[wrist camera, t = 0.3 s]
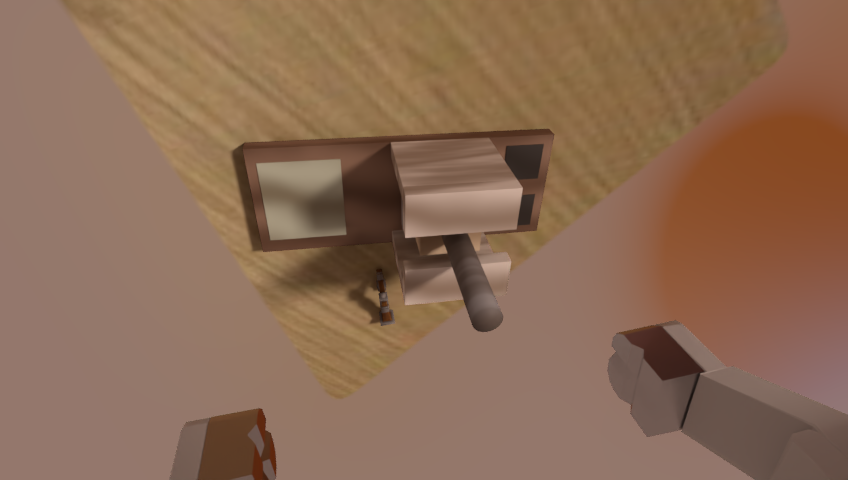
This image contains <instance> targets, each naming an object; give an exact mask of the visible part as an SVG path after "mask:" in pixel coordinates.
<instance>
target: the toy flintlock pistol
mask: <svg viewBox="0 0 848 480" xmlns="http://www.w3.org/2000/svg"><path fill="white" fill-rule="evenodd" d="M376 271H377V288H378V290H379V291H380V293H379V299H380V307H381V312H379V316H380V322H381V326H383V325H389V324H394V323H395V320H394V314H393V310H389V304H388V297H387V292H385V290H386V283H385V279H383V274H382V269H379V270H376Z"/></svg>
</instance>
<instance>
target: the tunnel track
mask: <svg viewBox="0 0 848 480" xmlns="http://www.w3.org/2000/svg"><path fill="white" fill-rule="evenodd" d="M553 139H554V134H553V133H552V132H551V131H550V129H535V130H513V131H491V132H469V133H448V134H426V135H404V136H382V137H360V138H339V139H317V140H295V141H273V142H251V143H244V146H243V149H242V150H243V155H244V159H245V164H246V169H247V174H248V179H249V184H250V189H251V194H252V199H253V204H254V209H255V214H256V219H257V224H258V229H259V234H260V239H261V244H262V249H263V252H269V251H282V250H295V249H308V248H320V247H333V246H346V245H359V244H372V243H384V242H392V243H393V248H394V253H395V258H396V263H397V268H398V273H399V278H400V283H401V287H402V292H403V297H404V302H405V305H412V304H422V303H432V302H442V301H453V300H463V297H462V294H461V291H460V288H459V285H458V282H457V279H456V277H455V274H454V271H453V268H452V265H451V262H450V259H449V256H448V254H435V255H423V256H420V253H419V249H418V245H417V242H416V238H415V237H424V236H437V235H450V234H463V233H476V232H482V233H481V242H480V251H476V254H477V256H478V258H479V261H480V263H481V265H482V268H483V270H484V272H485V275H486V277H487V279H488V282H489V284H490V286H491V289H492V291H493V293H494V296H504V295H506V292H507V286H508V280H509V273H510V267H511V260H510V258H509V256H508V254H507V252H499V253H493V251H492V249H491V247H490V245H489V243H488V241H487V238H486V236H485V235H487V234H500V233H512V232H525V231H536V230H537V225H538V219H539V214H540V209H541V203H542V198H543V193H544V187H545V182H546V176H547V171H548V166H549V160H550V155H551V150H552V144H553ZM401 197H402V200H403V229H402V216H401Z"/></svg>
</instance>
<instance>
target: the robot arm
mask: <svg viewBox="0 0 848 480" xmlns="http://www.w3.org/2000/svg"><path fill="white" fill-rule="evenodd" d="M612 347H613V348H614V350H615V351H616V352H615V353H614V354H613V355H612V357H611V358H610V359H609V363H608V375H609V380H610V383H611V385H612V387H613V389H614V391H615V392H616V394H617V395H618V397H619V398H620V399H622V400H624V401H625V402H627V403H629V404H631V413H630V414H631V415H632V417H633V418H634V419H635V420H636V422H637V424H638V425H639V426H640V428H641V429H642V430H643V432H644V433H645V435H646V436H647V437H650V436H655V435H659V434H664V433H669V432H673V431H678V430H682V432H683V433H684V434H686V435H687V436H689V437H691V438H692V439H693V440H695V441H697V442H698V443H700V444H701V445H703V446H704V447H706V448H707V449H709V450H710V451H712V452H714V453H715V454H716V455H718V456H720V457H721V458H723V459H724V460H726V461H727V462H729V463H730V464H732V465H733V466H735V467H737V468H738V469H739V470H741V471H743V472H744V473H746V474H747V475H749V476H750V477H752V478H753V479H755V480H848V415H847V414H845V413H842V412H840V411H838V410H835V409H833V408H830V407H828V406H826V405H823V404H821V403H818V402H816V401H814V400H811V399H809V398H807V397H804V396H802V395H800V394H797V393H795V392H792V391H790V390H788V389H785V388H783V387H781V386H778V385H776V384H774V383H771V382H769V381H767V380H764V379H762V378H759V377H757V376H755V375H752V374H750V373H748V372H745V371H743V370H740V369H738V368H736V367H733V366H731V367H726V366H725V365H724V364H723V363H722V362H721V361H720V360H718V358H717V357H716V356H714V354H713V353H711V352H710V351H709V349H707V348H706V347H705V346H704V345H703V344H702V343H701V342H700V341H699V340H698V339H697V338H696V337H695V336H694V335H693V334H692V333H691V332H690V331H689V330H688V329H687V328H686V327H685V326H684V325H683V324H682V323H680V322H678V321H670V322H666V323H661V324H656V325H651V326H647V327H642V328H637V329H633V330H628V331H624V332H619V333H616V335H615V336H614V337H613V341H612ZM265 428H266V418H265V415H264V413H263V410H262V409H260V408H259V409H253V410H247V411H242V412H237V413H231V414H226V415H220V416H215V417H211V418H206V419H201V420H195V421H190V422H186V423H185V425H184V427H183V428H182V430H181V434H180V438H179V442H178V446H177V450H176V455H175V459H174V463H173V468H172V471H171V475H170V480H275V479H276V454H275V447H274V442H273V438H272V435H271V433H270V432H268V431H266V430H265Z"/></svg>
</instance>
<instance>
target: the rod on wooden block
mask: <svg viewBox="0 0 848 480" xmlns="http://www.w3.org/2000/svg"><path fill="white" fill-rule="evenodd" d="M401 216H402V229H403V200H402V197H401ZM481 233H482V232H476V233H463V234H450V235H437V236H424V237H415V238H416V242H417V245H418V249H419V253H420V256H423V255H435V254H448V256H449V259H450V262H451V265H452V268H453V271H454V274H455V277H456V279H457V282H458V285H459V288H460V291H461V294H462V297H463V300H464V302H465V305H466V308H467V311H468V314H469V317H470V320H471V322H472V325H473V327H474V328H475V329H476V330H477V331H481V332H487V331H491V330H494V329H496V328H497V327H498V326H499V325H500V324H501V323H502V320H503V315H502V312H501V310H500V308H499V305H498V303H497V300H496V298H495V296H494V293H493V291H492V289H491V286H490V284H489V282H488V279H487V277H486V275H485V272H484V270H483V268H482V265H481V263H480V261H479V258H478V256H477V254H476V251H480V242H481Z"/></svg>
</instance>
